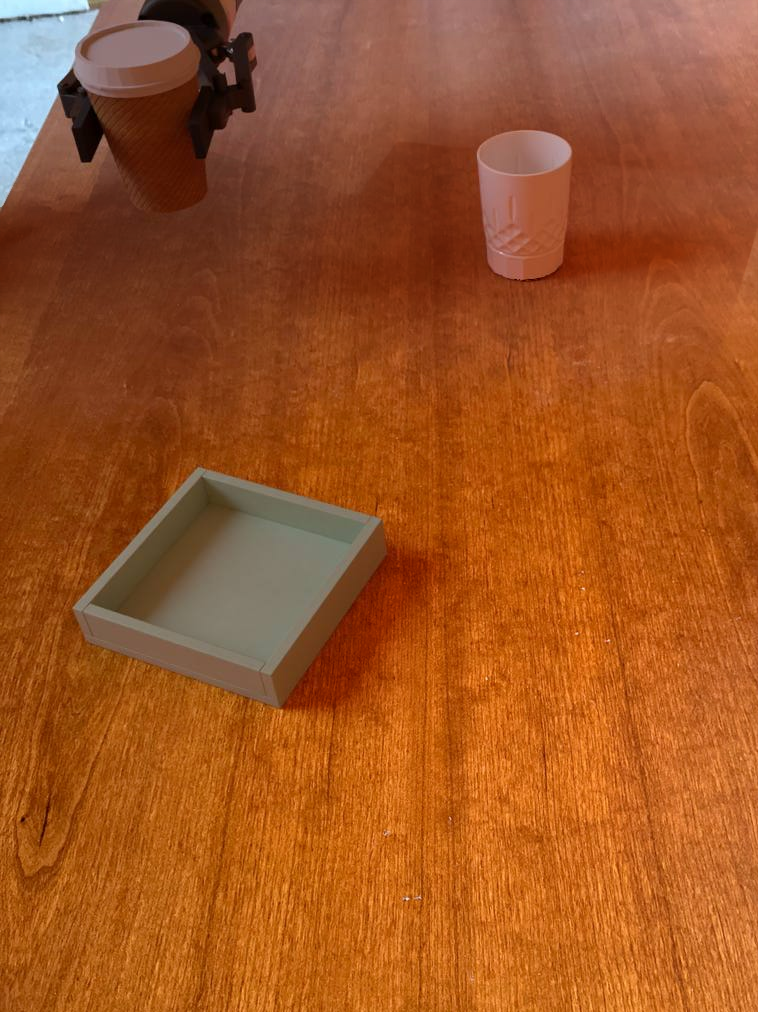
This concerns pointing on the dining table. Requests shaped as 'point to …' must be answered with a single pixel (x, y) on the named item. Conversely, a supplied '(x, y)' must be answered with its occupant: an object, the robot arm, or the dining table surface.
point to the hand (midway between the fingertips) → (139, 143)
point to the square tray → (234, 585)
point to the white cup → (524, 201)
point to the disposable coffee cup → (146, 108)
